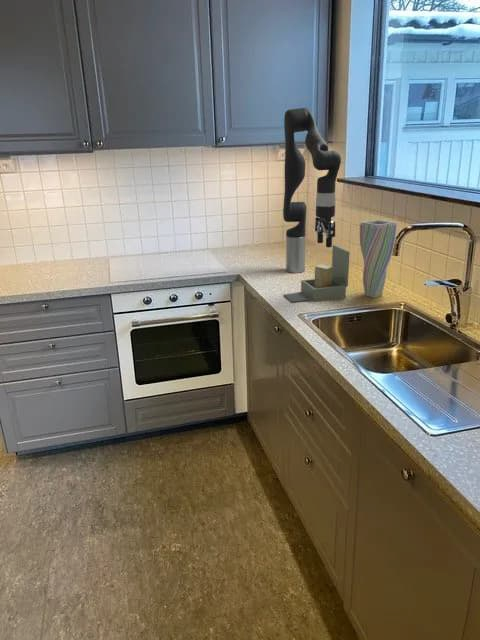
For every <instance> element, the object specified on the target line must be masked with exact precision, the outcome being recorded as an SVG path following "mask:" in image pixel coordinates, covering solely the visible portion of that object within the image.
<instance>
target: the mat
mask: <svg viewBox="0 0 480 640" xmlns="http://www.w3.org/2000/svg"><path fill="white" fill-rule="evenodd" d="M283 297H285V298H286V299H287V300H288V302H290V303H291V304H294V303H295V304H296V303H303V302H311V301H312V300H311V299H310V298H309V297H308V296H306V295H305V294H304V293H302V292H301V291H300V292H294V293H285V294H283Z"/></svg>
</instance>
